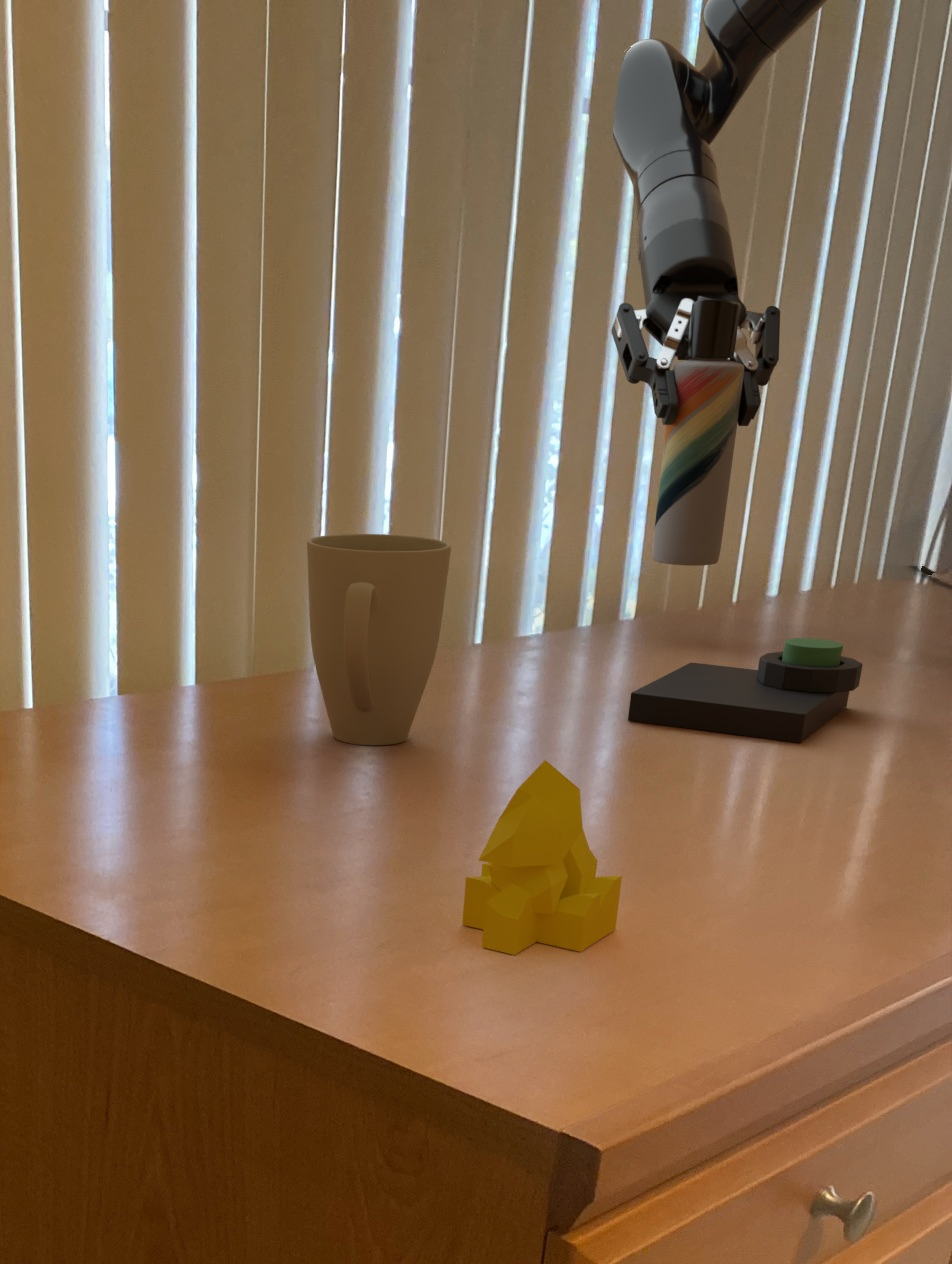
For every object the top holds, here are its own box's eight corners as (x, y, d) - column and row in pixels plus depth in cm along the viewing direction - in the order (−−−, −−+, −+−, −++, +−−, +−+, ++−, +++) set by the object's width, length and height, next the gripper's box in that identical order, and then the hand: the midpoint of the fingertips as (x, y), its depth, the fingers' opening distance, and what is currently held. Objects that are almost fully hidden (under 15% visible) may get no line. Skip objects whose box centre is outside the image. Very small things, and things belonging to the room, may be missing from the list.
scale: (688, 686, 125) (695, 639, 123) (861, 707, 119) (870, 658, 118) (627, 720, 113) (633, 668, 112) (814, 745, 108) (824, 691, 106)
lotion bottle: (664, 555, 142) (694, 295, 133) (727, 560, 140) (763, 295, 130) (641, 562, 138) (671, 294, 129) (706, 568, 136) (741, 294, 126)
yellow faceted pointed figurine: (634, 917, 75) (655, 748, 72) (559, 965, 70) (578, 784, 66) (520, 893, 78) (536, 729, 75) (439, 937, 72) (451, 762, 69)
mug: (265, 729, 108) (268, 536, 103) (393, 717, 112) (403, 531, 107) (345, 767, 100) (354, 558, 94) (481, 752, 104) (497, 552, 98)
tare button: (789, 658, 119) (792, 636, 118) (844, 664, 117) (848, 642, 116) (775, 666, 116) (778, 643, 115) (832, 672, 114) (836, 650, 113)
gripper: (613, 213, 133) (635, 382, 128) (784, 217, 134) (812, 384, 129) (590, 288, 140) (610, 450, 135) (753, 291, 141) (779, 452, 136)
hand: (709, 417), depth 132 cm, fingers closed on lotion bottle, 5 cm apart
